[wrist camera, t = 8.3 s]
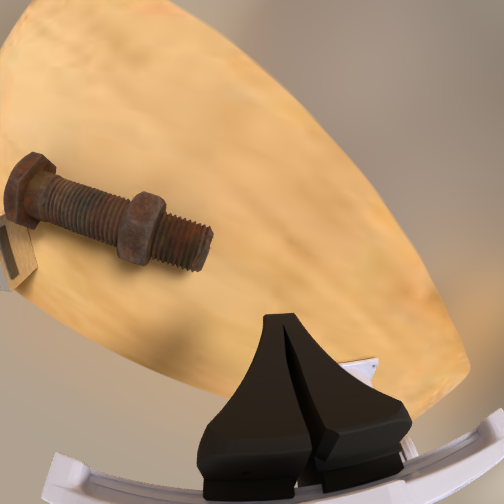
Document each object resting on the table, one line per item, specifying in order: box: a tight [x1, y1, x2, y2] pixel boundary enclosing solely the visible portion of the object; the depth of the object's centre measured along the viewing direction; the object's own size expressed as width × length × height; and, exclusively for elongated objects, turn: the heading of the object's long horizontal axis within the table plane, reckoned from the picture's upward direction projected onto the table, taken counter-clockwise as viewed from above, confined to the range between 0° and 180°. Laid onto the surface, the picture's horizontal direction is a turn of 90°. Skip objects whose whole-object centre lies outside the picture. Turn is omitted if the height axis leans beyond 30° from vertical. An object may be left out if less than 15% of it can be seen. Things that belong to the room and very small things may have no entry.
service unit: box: [0, 211, 38, 292], centre depth 16 cm, size 6×2×4 cm, turn 1°
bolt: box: [4, 152, 214, 272], centre depth 16 cm, size 6×5×15 cm
